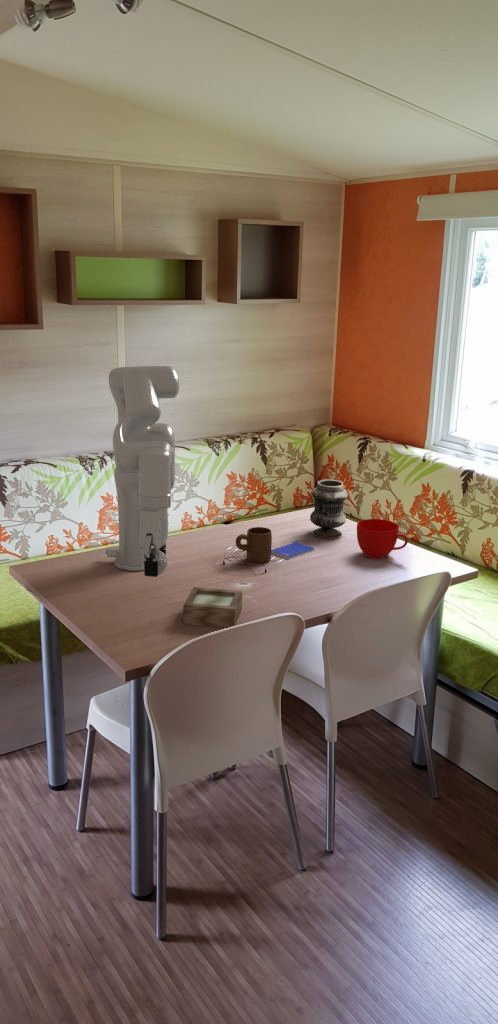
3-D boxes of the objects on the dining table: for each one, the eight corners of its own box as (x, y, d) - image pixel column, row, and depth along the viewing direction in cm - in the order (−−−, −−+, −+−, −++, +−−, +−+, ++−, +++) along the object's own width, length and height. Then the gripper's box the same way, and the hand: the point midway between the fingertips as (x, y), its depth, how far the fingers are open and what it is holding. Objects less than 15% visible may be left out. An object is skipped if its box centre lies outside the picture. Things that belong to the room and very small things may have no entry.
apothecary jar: (334, 542, 276) (337, 489, 271) (302, 535, 282) (305, 483, 277) (351, 532, 286) (354, 481, 280) (320, 526, 292) (322, 476, 287)
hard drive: (288, 556, 259) (314, 547, 268) (269, 549, 264) (294, 541, 273) (288, 561, 259) (314, 552, 268) (269, 554, 265) (294, 545, 273)
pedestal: (183, 623, 212) (183, 604, 211) (193, 605, 224) (193, 587, 222) (234, 628, 211) (234, 609, 209) (241, 609, 222) (242, 590, 221)
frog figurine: (138, 578, 203) (138, 551, 201) (148, 568, 210) (147, 542, 208) (162, 581, 202) (162, 553, 200) (171, 571, 208) (171, 544, 206)
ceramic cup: (395, 568, 254) (398, 537, 251) (347, 556, 263) (349, 525, 261) (415, 557, 264) (417, 527, 261) (367, 545, 273) (369, 516, 270)
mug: (241, 568, 251) (242, 538, 249) (229, 560, 258) (229, 530, 255) (275, 561, 257) (276, 532, 255) (262, 554, 264) (263, 525, 261)
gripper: (149, 489, 209) (150, 556, 214) (128, 509, 192) (130, 582, 198) (178, 491, 208) (178, 559, 213) (160, 512, 191) (161, 584, 197)
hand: (155, 569), depth 205 cm, fingers closed on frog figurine, 7 cm apart
